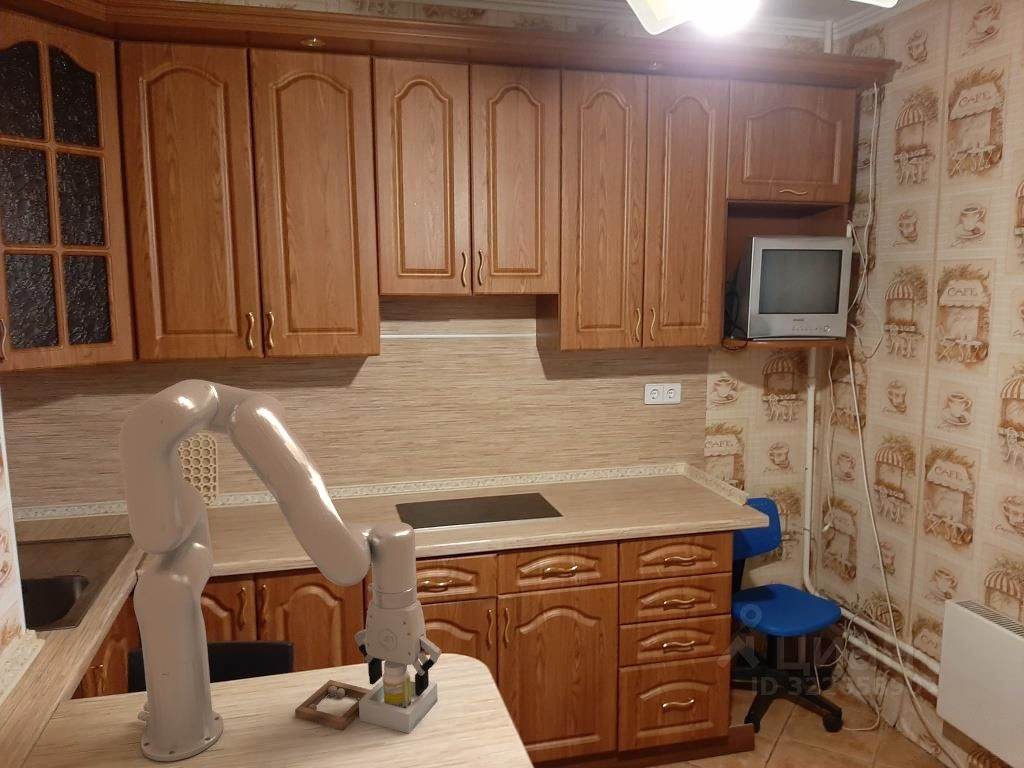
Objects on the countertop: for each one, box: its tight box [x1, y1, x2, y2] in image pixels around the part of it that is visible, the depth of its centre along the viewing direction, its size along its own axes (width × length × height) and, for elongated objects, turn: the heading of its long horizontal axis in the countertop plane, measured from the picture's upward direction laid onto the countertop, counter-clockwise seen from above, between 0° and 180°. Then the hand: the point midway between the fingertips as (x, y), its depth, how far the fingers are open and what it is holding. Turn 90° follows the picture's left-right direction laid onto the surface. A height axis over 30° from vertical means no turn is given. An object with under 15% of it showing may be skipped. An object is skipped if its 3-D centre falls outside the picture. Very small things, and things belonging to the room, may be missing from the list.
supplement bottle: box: [382, 660, 411, 709], centre depth 126 cm, size 5×5×8 cm
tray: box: [294, 679, 371, 731], centre depth 127 cm, size 10×10×2 cm
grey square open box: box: [358, 676, 439, 734], centre depth 126 cm, size 10×10×4 cm
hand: (398, 685), depth 126 cm, fingers open, 9 cm apart
